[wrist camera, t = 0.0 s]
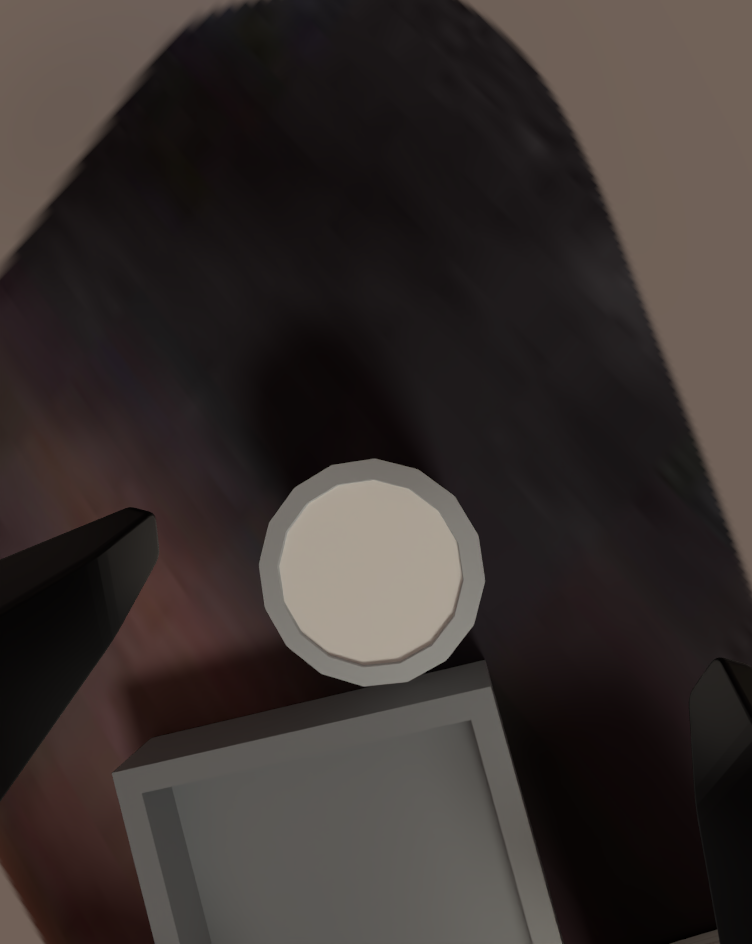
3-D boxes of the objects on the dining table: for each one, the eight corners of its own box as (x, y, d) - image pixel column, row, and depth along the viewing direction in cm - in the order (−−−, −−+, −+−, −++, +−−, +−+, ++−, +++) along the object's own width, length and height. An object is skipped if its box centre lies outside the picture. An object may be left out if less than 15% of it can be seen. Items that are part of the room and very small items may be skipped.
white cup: (278, 537, 25) (213, 562, 18) (396, 428, 24) (377, 410, 17) (385, 660, 24) (360, 735, 17) (509, 552, 24) (535, 585, 17)
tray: (586, 1025, 23) (607, 1106, 20) (238, 1080, 25) (210, 1162, 22) (485, 659, 24) (490, 686, 21) (151, 738, 25) (112, 773, 22)
